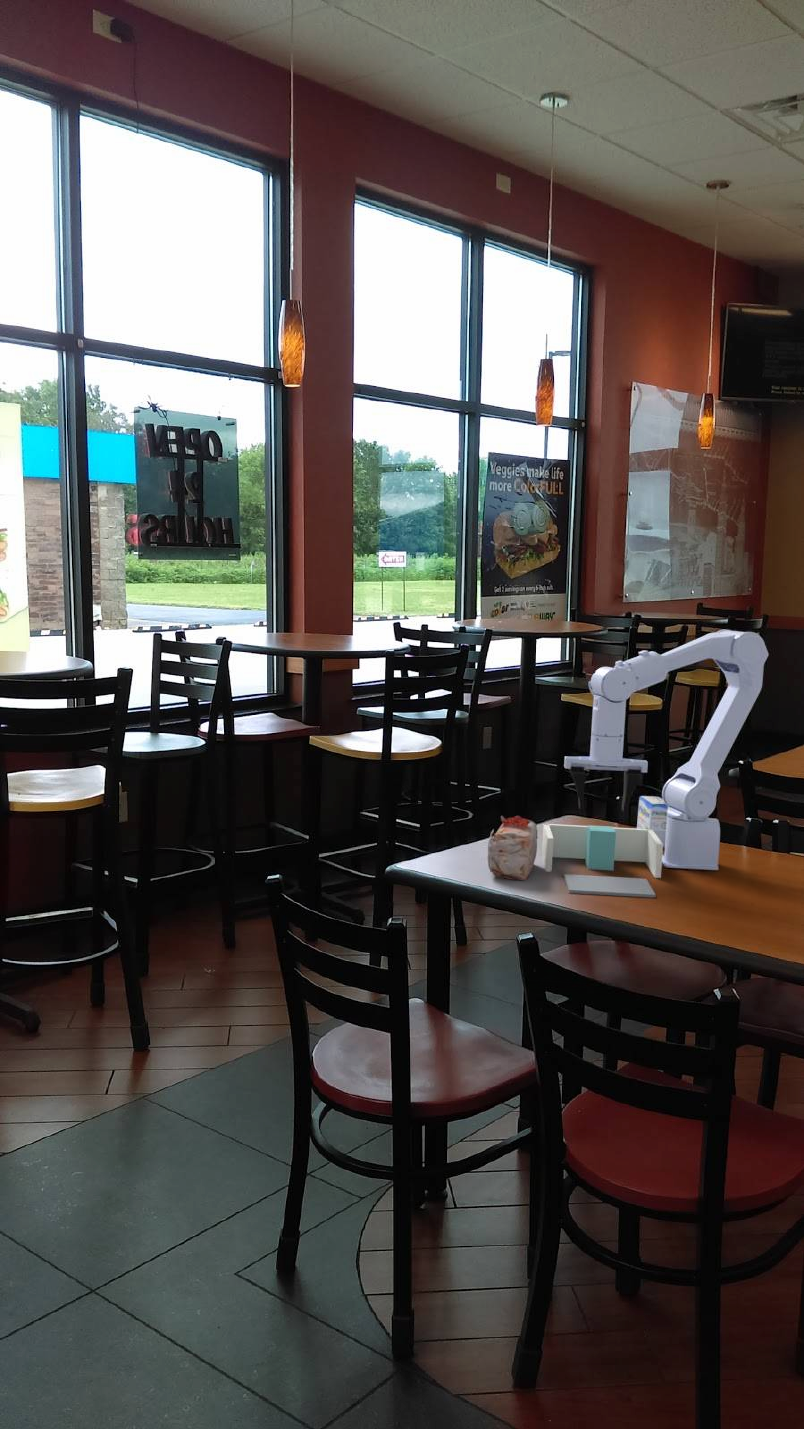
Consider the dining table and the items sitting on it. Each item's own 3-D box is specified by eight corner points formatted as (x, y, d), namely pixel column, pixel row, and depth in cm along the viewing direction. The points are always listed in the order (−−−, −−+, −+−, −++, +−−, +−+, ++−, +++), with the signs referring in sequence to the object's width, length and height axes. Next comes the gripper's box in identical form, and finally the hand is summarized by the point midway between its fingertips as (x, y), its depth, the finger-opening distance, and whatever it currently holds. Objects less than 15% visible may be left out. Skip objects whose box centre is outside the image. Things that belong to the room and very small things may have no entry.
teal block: (610, 864, 206) (612, 826, 205) (613, 870, 202) (615, 831, 201) (585, 862, 206) (587, 825, 205) (587, 869, 202) (590, 830, 201)
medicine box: (635, 837, 229) (638, 795, 228) (656, 838, 229) (659, 796, 228) (648, 847, 221) (651, 803, 220) (670, 847, 221) (673, 804, 220)
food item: (531, 883, 190) (534, 826, 189) (484, 879, 192) (487, 822, 191) (537, 864, 204) (541, 810, 203) (493, 860, 205) (496, 807, 204)
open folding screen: (650, 861, 209) (652, 829, 209) (660, 877, 197) (663, 844, 197) (541, 855, 210) (543, 823, 210) (545, 871, 198) (547, 838, 198)
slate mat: (646, 881, 195) (646, 878, 194) (655, 897, 185) (655, 894, 185) (564, 876, 195) (564, 874, 195) (569, 892, 185) (569, 889, 185)
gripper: (645, 733, 205) (640, 807, 206) (564, 729, 205) (560, 803, 207) (651, 739, 198) (646, 815, 199) (567, 735, 198) (563, 811, 200)
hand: (602, 809), depth 203 cm, fingers open, 7 cm apart
